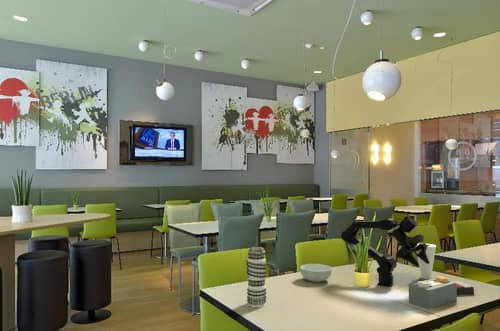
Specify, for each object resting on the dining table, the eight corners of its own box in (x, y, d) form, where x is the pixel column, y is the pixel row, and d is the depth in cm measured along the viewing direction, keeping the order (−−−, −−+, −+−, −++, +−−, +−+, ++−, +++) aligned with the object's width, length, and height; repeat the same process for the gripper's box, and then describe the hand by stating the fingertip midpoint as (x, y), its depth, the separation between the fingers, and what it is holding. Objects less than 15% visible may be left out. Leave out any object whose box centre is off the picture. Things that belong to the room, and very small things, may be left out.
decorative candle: (242, 303, 174) (241, 247, 174) (258, 299, 179) (258, 245, 180) (254, 309, 167) (254, 250, 167) (271, 304, 172) (270, 248, 173)
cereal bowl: (295, 281, 209) (295, 268, 210) (307, 274, 224) (307, 262, 224) (325, 286, 201) (325, 272, 201) (336, 278, 215) (336, 266, 215)
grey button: (415, 289, 173) (414, 282, 173) (421, 287, 176) (421, 280, 176) (425, 291, 169) (425, 284, 169) (432, 289, 172) (432, 283, 172)
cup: (416, 279, 212) (416, 246, 213) (414, 274, 223) (414, 243, 223) (438, 281, 209) (437, 247, 210) (435, 276, 220) (434, 243, 220)
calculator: (431, 282, 195) (458, 279, 197) (431, 291, 195) (459, 288, 197) (445, 288, 184) (474, 285, 186) (445, 297, 184) (474, 294, 186)
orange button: (433, 284, 181) (433, 277, 181) (439, 282, 183) (439, 275, 183) (443, 286, 176) (443, 279, 177) (449, 284, 179) (449, 278, 179)
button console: (408, 302, 174) (408, 284, 175) (435, 294, 186) (435, 277, 186) (429, 309, 166) (429, 289, 166) (456, 300, 178) (456, 281, 178)
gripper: (400, 230, 188) (422, 257, 178) (423, 227, 198) (445, 252, 188) (387, 244, 194) (408, 271, 184) (410, 240, 204) (430, 265, 195)
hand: (423, 264), depth 188 cm, fingers open, 8 cm apart
